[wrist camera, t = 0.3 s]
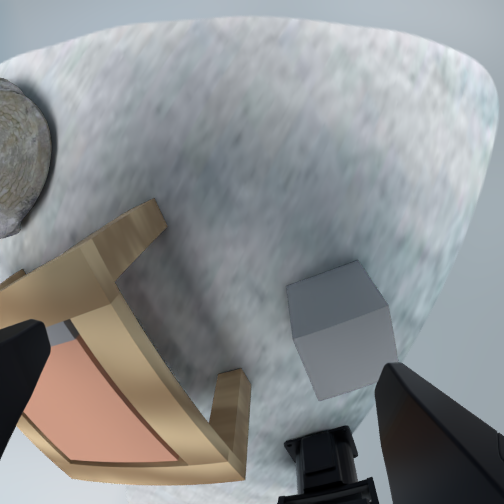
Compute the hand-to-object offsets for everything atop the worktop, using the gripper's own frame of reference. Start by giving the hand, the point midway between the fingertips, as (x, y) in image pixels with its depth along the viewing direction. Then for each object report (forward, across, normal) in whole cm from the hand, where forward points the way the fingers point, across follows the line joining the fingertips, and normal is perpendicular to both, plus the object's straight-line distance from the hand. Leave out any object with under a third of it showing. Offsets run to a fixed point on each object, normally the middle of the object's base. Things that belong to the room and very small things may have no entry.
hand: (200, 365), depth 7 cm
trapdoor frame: (+13, +9, +9) cm, 19 cm away
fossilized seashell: (+15, +18, -1) cm, 23 cm away
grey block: (+13, -6, +5) cm, 16 cm away
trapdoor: (+5, +11, +5) cm, 13 cm away
